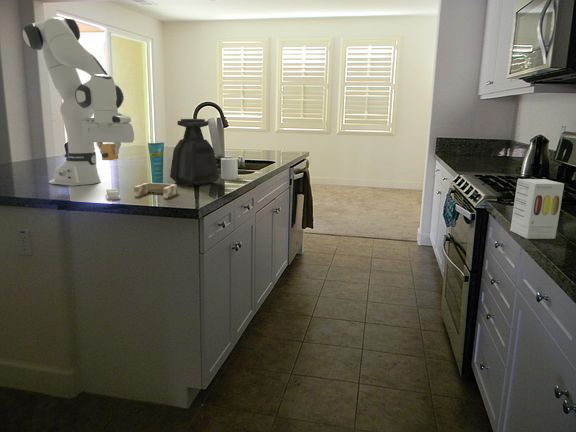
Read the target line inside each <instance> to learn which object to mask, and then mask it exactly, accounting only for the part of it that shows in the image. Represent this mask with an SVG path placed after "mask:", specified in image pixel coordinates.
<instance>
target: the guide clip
mask: <svg viewBox="0 0 576 432" xmlns="http://www.w3.org/2000/svg"><path fill="white" fill-rule="evenodd" d="M105 192H106V194H105V199H106V200H107V201H110V200H111V201H112V200H115V201H116V200H121V196H120V192H119V191H118V188H108V189H107V188H106V191H105Z"/></svg>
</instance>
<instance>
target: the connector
mask: <svg viewBox="0 0 576 432" xmlns="http://www.w3.org/2000/svg"><path fill="white" fill-rule="evenodd" d="M115 148H116V145H115V142H106V143H103V144H101V153H102V154H101V153H100V154H101V160H102V161H114V160H118V159H119V154H113V150H114V149H115Z"/></svg>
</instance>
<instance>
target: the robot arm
mask: <svg viewBox="0 0 576 432" xmlns="http://www.w3.org/2000/svg"><path fill="white" fill-rule="evenodd" d="M79 27H80V26H79V24H77V22H76V20H75V19H73V18H72V17H68V16H63V17H49V18H47V19H44V20H39V21H37V22H33V23H32V22H30V23H27V24H25V25H24V26H23V28H22V37H23V40H24V42H25V43H26V45H27V46H28V47H29V48H30V49H32V50H33V51H42V54H43V59H44V62H45V65H46V67H47V70H48V73H49V75H50V78H51V80H52V83H53V85H54V88H55V89H56V90H57V92H58V93H59V95H60V97H61V99H62V103H61V105H60V107H59V108H60V114H61V116H62V120H63V125H64V129H65V132H66V138H67V146H68V147H67V148H68V152H67V153H64V155H63V158H65V161H64V162H63V163H61V164H60V165H59V166H58V167H56V168H55V170H54V172H53V179H51V180H49V181H48V184H53V185H62V186H71V187H72V186H75V187H76V186H83V185H95V184H99V183H101V178H100V175H99V172H98V168H97V153H96V151H95V143H96V147H98V149H99V152H100V154H101V155H102V153H101V144H104V143H115V145H116V148H115V149H114V150H113V154H118V155H119V154H120V150H119V149H120V148H121V146H122V143H123V144H125V143H126V144H127V143H128V144H129V143H133V142H134V141H135V133H134V132H135V131H134V128H133V125H132V124H131V122H132V119H131V117H130V116H129V115H128V116H127V115H125V114H122V113H120V112H119V110H118V109H119V108H120V107H121V106H122V104H123V103H124V101H125V100H124V93H123V91H122V89H121V88H120V86H119V85H118V84H117V83H115V79H114V78H113V77H112V76H110V75H109V74H108V72H106V70H105V69H104V67H103V65H101V64H102V63H100V61H99V60H98V59H97V58H96V57H95V56H94V55H93V54H92V53H91V52H89V51H88V50H87V49H85V48H84V46H83V45H82V44H81V43H80V41H79V40H80V38H81V30H80V28H79ZM77 69H78V70H81V71H82V72H85V73H87V74H88V75H89V76H90V79H89V80H88V81H86V82H84V83H82V80H81V78H80V76H79V73H78V71H77Z"/></svg>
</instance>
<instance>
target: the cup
mask: <svg viewBox="0 0 576 432" xmlns="http://www.w3.org/2000/svg"><path fill="white" fill-rule="evenodd" d="M238 162H239V161H238V158H236V157H222V158H220V169H221V171H220V176H221V179H222V180H223V181H224V180H225V181H234V180H235V181H236V180H237V179H238V177H239V176H238V175H239V174H238V171H239V169H238V168H239V167H238V166H239V165H238V164H239V163H238Z"/></svg>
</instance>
